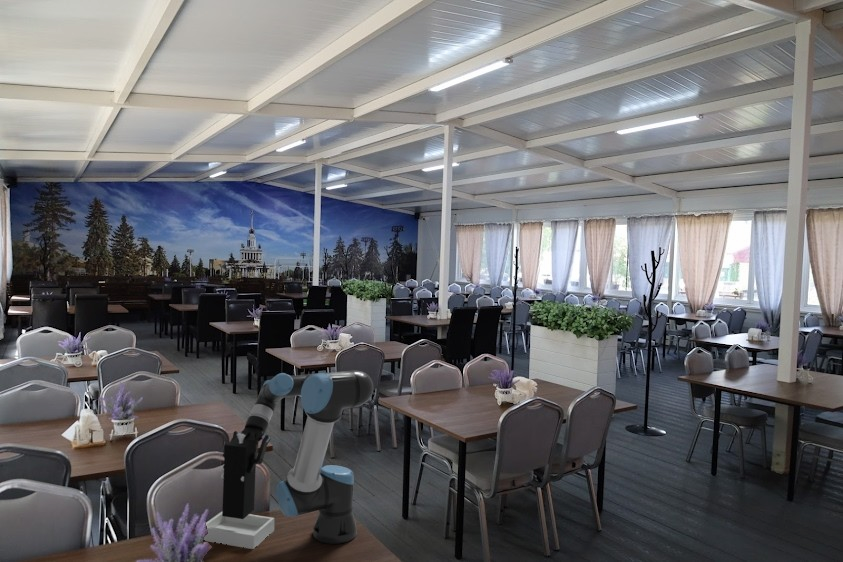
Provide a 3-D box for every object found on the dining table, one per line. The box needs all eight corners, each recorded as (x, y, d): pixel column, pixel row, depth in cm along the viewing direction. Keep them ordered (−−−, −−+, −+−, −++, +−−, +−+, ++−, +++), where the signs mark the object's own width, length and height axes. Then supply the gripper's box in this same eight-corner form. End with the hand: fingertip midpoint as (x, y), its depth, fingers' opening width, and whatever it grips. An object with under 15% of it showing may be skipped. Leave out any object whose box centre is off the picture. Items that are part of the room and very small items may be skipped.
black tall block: (243, 519, 199) (246, 437, 198) (221, 516, 201) (224, 435, 199) (254, 510, 207) (257, 431, 205) (233, 507, 208) (236, 428, 207)
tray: (274, 530, 208) (274, 518, 208) (253, 549, 194) (253, 535, 194) (223, 522, 212) (223, 510, 212) (199, 540, 199) (200, 526, 199)
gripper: (287, 428, 215) (263, 488, 200) (238, 422, 220) (211, 481, 205) (280, 417, 210) (255, 478, 195) (230, 411, 214) (202, 471, 199)
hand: (233, 480), depth 200 cm, fingers closed on black tall block, 7 cm apart
